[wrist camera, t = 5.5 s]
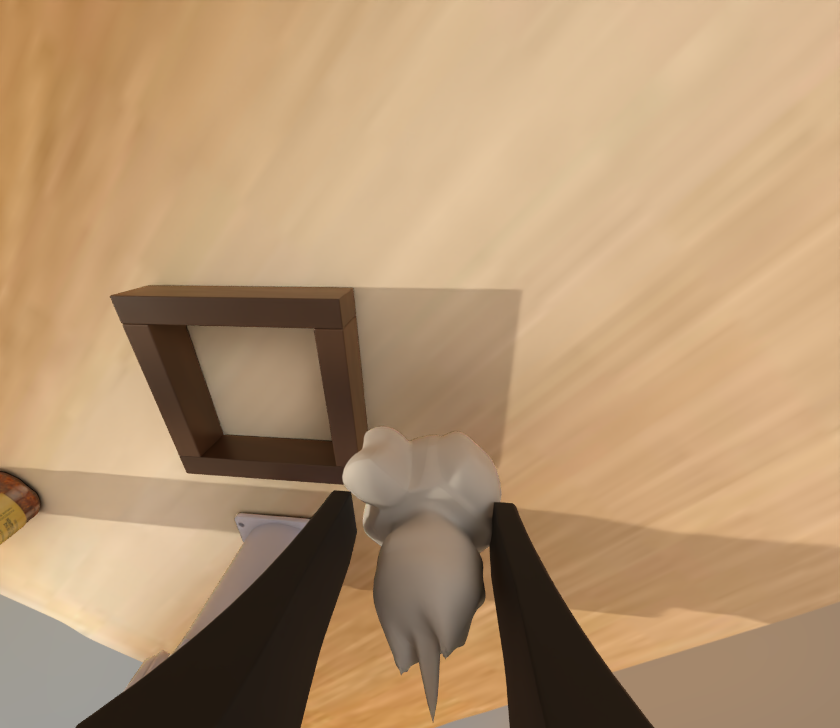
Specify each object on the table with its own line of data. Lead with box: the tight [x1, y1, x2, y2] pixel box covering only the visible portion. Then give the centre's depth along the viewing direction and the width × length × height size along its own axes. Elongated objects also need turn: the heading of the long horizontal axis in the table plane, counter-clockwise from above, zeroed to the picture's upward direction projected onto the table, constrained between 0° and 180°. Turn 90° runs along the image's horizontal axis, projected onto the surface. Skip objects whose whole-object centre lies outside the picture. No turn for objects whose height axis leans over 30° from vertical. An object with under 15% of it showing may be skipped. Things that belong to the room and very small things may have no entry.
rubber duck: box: [342, 426, 501, 721], centre depth 11 cm, size 5×7×8 cm
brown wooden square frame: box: [110, 285, 368, 485], centre depth 21 cm, size 13×13×2 cm
